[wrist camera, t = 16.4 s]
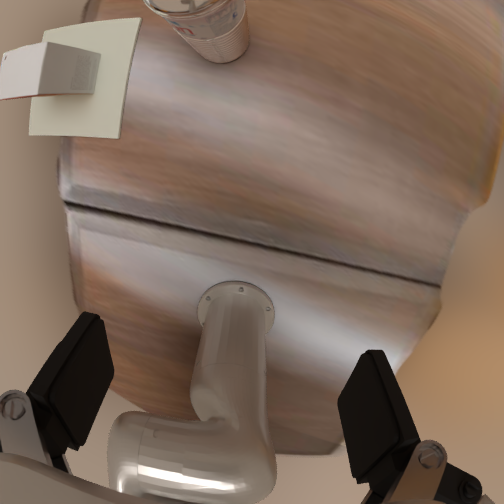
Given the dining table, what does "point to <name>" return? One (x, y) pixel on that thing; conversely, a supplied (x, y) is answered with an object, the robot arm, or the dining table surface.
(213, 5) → the water bottle
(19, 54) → the small box
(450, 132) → the dining table surface
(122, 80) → the mat
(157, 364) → the dining table surface
